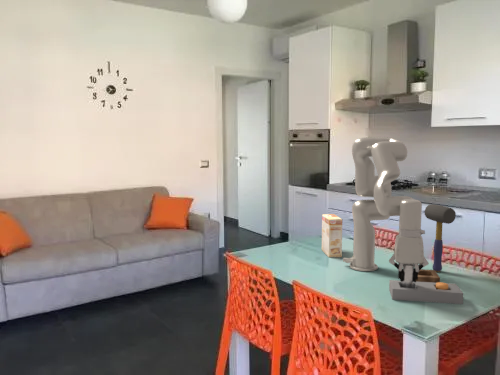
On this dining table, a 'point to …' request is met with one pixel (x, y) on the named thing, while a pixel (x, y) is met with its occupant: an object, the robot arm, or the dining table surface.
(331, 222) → the coffeecake box
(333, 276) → the dining table surface
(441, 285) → the release button
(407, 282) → the silver metal cylinder
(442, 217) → the rubber mallet
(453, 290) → the socket block
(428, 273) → the brown open square box
